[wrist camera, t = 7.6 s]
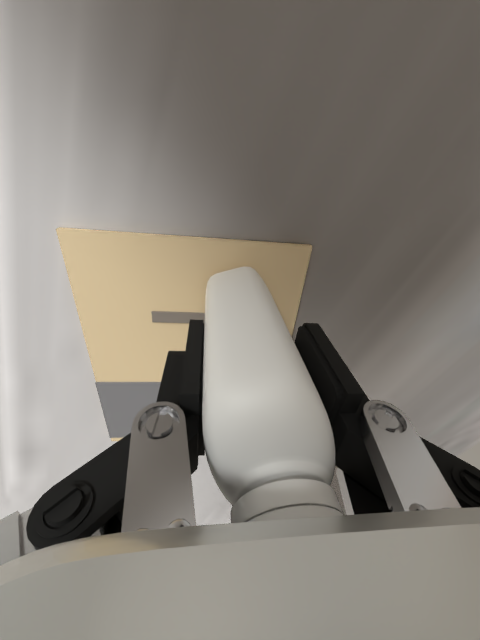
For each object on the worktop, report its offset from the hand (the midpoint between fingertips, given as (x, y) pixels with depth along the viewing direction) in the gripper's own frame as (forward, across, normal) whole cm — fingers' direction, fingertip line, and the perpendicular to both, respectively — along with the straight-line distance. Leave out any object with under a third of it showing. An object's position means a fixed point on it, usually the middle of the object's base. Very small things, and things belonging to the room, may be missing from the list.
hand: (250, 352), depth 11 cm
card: (+3, +3, +3) cm, 5 cm away
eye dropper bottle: (+3, 0, 0) cm, 3 cm away
